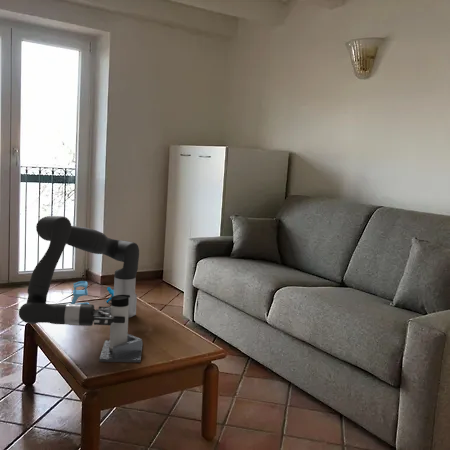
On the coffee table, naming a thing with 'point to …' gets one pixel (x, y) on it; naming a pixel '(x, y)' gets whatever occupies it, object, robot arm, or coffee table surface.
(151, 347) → the coffee table surface
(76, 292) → the chair
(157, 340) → the coffee table surface
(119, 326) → the travel mug
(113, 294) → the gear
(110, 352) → the v block
